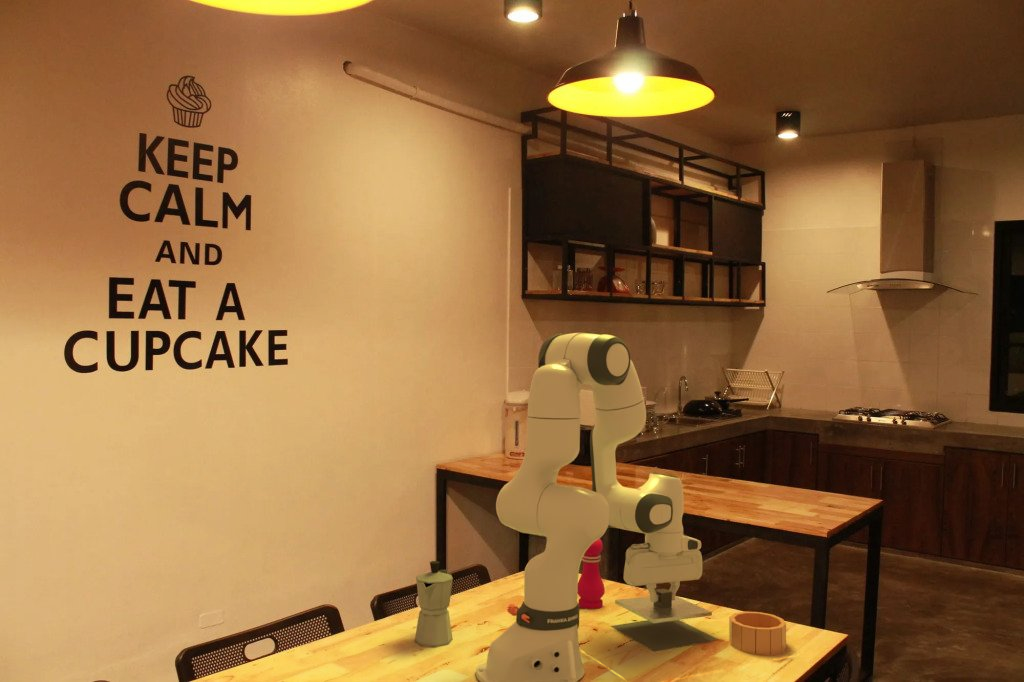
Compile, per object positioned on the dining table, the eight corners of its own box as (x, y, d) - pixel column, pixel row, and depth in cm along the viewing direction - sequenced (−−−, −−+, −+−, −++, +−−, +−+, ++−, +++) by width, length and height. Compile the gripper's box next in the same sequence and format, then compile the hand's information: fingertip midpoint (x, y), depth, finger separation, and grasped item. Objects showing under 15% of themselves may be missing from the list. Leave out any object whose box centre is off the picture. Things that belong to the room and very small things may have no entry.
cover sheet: (653, 623, 186) (654, 603, 186) (615, 603, 200) (615, 585, 200) (711, 615, 193) (712, 596, 193) (670, 596, 207) (670, 579, 207)
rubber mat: (653, 653, 185) (653, 651, 185) (610, 628, 201) (610, 626, 201) (718, 641, 193) (718, 639, 193) (671, 618, 209) (671, 616, 209)
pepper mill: (582, 612, 213) (583, 533, 213) (572, 603, 220) (573, 527, 220) (608, 610, 215) (609, 532, 215) (598, 601, 222) (599, 526, 222)
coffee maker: (444, 651, 184) (445, 570, 184) (406, 648, 186) (407, 567, 186) (462, 629, 199) (462, 553, 199) (426, 626, 201) (427, 551, 201)
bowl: (754, 659, 182) (755, 632, 182) (718, 641, 193) (719, 615, 193) (796, 651, 187) (797, 624, 187) (759, 634, 198) (759, 609, 198)
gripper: (634, 547, 189) (632, 609, 189) (706, 541, 198) (705, 600, 198) (619, 542, 195) (617, 601, 195) (690, 536, 204) (689, 593, 204)
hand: (662, 601), depth 196 cm, fingers closed on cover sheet, 3 cm apart
